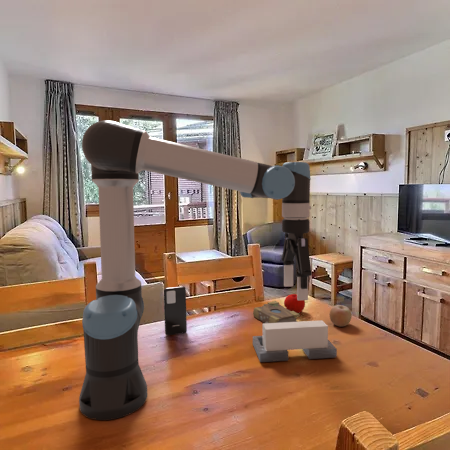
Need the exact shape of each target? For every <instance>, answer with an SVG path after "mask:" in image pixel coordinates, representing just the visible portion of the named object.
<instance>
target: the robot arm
mask: <svg viewBox="0 0 450 450" xmlns="http://www.w3.org/2000/svg"><path fill="white" fill-rule="evenodd" d="M81 148H82V152H83V155H84V157H85V159H86V160H87V162H88V163H89V164H90V167H91V171H90V173H91V182H92V183H94V185H96V186H97V188H98V210H99V211H98V212H99V213H98V214H99V236H100V237H99V241H100V243H99V245H100V269H101V271H100V273H101V279H100V280H99V282H97V284H96V285H95V298H96V299H94V300H91V301H90V302H88V304H86V306H85V307H84V309H83V312H82V319H81V320H82V321H81V324H82V329H83V344H84V346H83V347H84V359H85V360H84V361H85V363H84V364H85V375H84V379H83V382H82V386H81V390H80V393H79V401H78V402H79V410H80V413H81V414H82V415H83V416H85V418H86V417H87V418H89V419H90V420H91V419H92V420H95V421H97V420H99V421H109V420H116V419H120V418H123V417H126V416H127V415H131V414H132V413H134V412H135V411H137V410H139V409H141V407H142V406H143V405H144V404H145V403H146V401H147V399H148V385H147V381H146V379H145V376H144V375H143V372H142V369H141V366H140V364H139V341H138V340H139V338H138V336H139V335H138V333H139V327H140V323H141V320H142V317H143V313H144V309H145V305H144V304H145V303H144V298H143V294H142V293H143V292H142V291H143V290H142V281H141V280H139V278H137V277H136V253H135V252H136V251H135V250H136V249H135V245H136V244H135V217H134V216H135V213H134V212H135V210H134V209H135V208H134V186H135V185H137V184H138V182H139V181H140V177H139V176H140V173H141V172H143V171H147V172H149V173H155V174H159V175H163V176H164V175H165V176H169V177H174V178H176V179H177V178H178V179H182V180H187V181H192V182H195V183H196V182H197V183H201V184H204V185H205V184H206V185H211V186H215V187H217V188H218V187H219V188H222V189H228V190H232V191H237V192H239V195H240V196H241V197H242V198H247V199H248V198H250V199H254V198H257V199H258V198H261V199H272V200H281V199H282V200H281V217H282V218H283V219H282V220H281V231H282V232H283V233H284V242H283V243H284V244H283V247H282V248H283V249H282V256H281V261H282V262H283V287H294V265H295V263H296V269H297V272H298V273H296V276H295V277H297V278H296V279H297V283H296V285H297V286H296V287H297V288H296V289H297V291H296V292H297V293H296V294H297V300H298V301H299V300H305V301H308V300H309V277H310V276H312V275H313V274H312V273H313V272H312V266H311V258H310V252H309V245H308V244H309V240H308V238H305V237H304V234H308V233H309V232H310V219H308V218H309V217H310V210H311V209H312V207H311V205H310V202H311V201H310V199H311V198H310V197H311V196H310V194H311V193H310V192H311V180H312V179H311V167H310V164H309V163H308V162H305V161H289V162H288V161H287V162H284V163H283V164H282V165H279V164H277V165H270V164H266V163H263V162H262V163H261V162H257V161H254V160H249V159H246V158H241V157H236V156H234V155H228V154H224V153H220V152H217V151H216V152H215V151H212V150H208V149H205V148H204V149H203V148H199V147H195V146H190V145H186V144H183V143H179V142H173V141H170V140H165V139H163V138H162V139H161V138H157V137H153V136H150V135H149V133H148V132H147V131H146V130H144V129H141V128H136V127H132V126H131V125H130V126H129V125H126V124H124V123H121V122H118V121H114V120H107V119H106V120H104V119H103V120H100V121H96V122H95V123H93V124H91V125H90V126H89V127H88V128H87V129H86V131H84V133H83V136H82V140H81ZM294 258H295V259H294Z"/></svg>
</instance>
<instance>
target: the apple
mask: <svg viewBox="0 0 450 450" xmlns="http://www.w3.org/2000/svg"><path fill="white" fill-rule="evenodd" d="M283 304H284V308H286V309H288V310H290V311H294V312H296V313H298V314H300V313H302V312H304V310H305V307H306V300H299V301H298V300H297V293H292V294H288V295H287V296H286V297H285V298H284V300H283Z"/></svg>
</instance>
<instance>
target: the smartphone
mask: <svg viewBox="0 0 450 450" xmlns="http://www.w3.org/2000/svg"><path fill="white" fill-rule="evenodd" d="M186 290H187V288H186V286H173V287H165V288H164V289H163V309H164V312H163V313H164V314H163V315H164V334H165V335H166V336H172V335H173V336H174V335H180V334H181V335H182V334H186V333H187V332H188V327H187V326H188V322H187V321H188V319H187V293H186V292H187V291H186Z"/></svg>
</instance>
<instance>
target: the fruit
mask: <svg viewBox="0 0 450 450" xmlns="http://www.w3.org/2000/svg"><path fill="white" fill-rule="evenodd" d="M352 315H353V314H352V311H351V309H350V308H349V307H348V306H346V305H342V302H339V304H337V305H333V306H332V307H331V308H330V310H329V319H330V322H331V323H332V324H333V325H335V326H337V327H340V328H341V327H346V326H347V325H349V324H350V323H351V320H352Z"/></svg>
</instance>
